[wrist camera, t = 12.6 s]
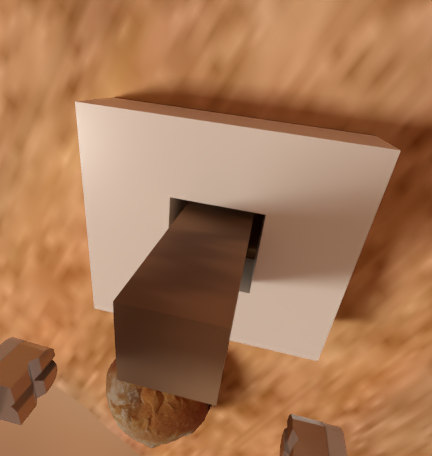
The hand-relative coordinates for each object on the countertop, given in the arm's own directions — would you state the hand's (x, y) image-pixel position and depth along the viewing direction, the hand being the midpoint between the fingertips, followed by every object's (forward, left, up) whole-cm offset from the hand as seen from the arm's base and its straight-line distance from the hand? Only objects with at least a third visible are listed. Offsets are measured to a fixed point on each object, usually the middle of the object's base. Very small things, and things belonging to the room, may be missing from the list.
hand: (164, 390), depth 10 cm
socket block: (0, 0, -13) cm, 13 cm away
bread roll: (+4, +17, -13) cm, 22 cm away
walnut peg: (0, 0, -13) cm, 13 cm away
